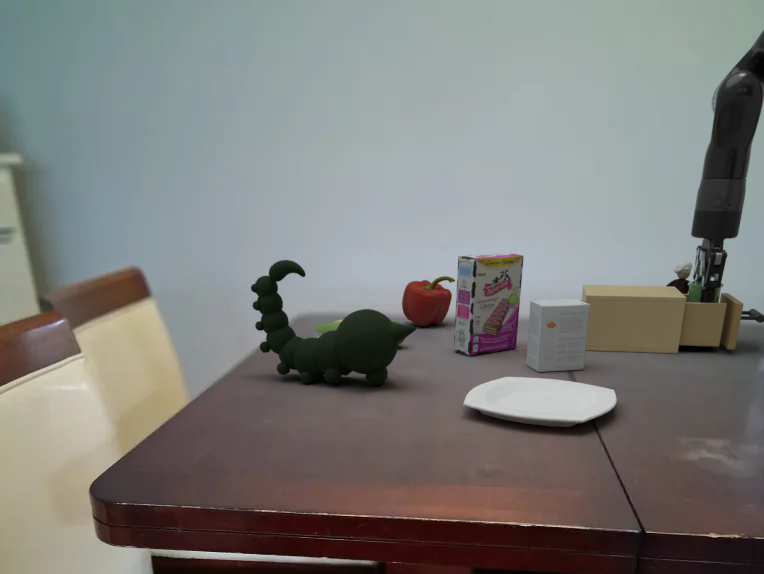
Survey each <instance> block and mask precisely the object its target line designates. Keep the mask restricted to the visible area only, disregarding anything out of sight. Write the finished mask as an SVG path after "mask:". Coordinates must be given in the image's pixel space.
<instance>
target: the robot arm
mask: <svg viewBox="0 0 764 574" xmlns="http://www.w3.org/2000/svg"><path fill="white" fill-rule="evenodd" d="M763 104H764V29H763V30H762V31H761V32H760V34H759V36H758V37H757V38H756V40H755V42H754V43H753V44H752V46H751V47H750V48H749V50H748V51H747V52H746V53H745V54H744V55H742V57H741V58H740V60H739V61H738V62H737V63H736V64H735V65H734V66H733V67H732V68H731V70H730V71H729V72H728V73H727V74H726V76H725V77H724V78H723V79H722V80H721V82H720V83H719V84H718V85H717V87H716V88H715V90H714V92H713V94H712V98H711V110H712V113H713V120H712V126H711V127H712V128H711V135H710V141H709V142H708V145H707V147H706V151H705V153H704V159H703V166H702V172H701V179H700V182H699V187H698V190H697V194H696V200H695V205H694V212H693V218H692V224H691V231H690V235H691V237H693V238H696V239H702V242H701V245H697V246H696V253H695V263H694V270H693V275H692V278H693V279H692V280H693V281H702V285H701V288H702V290H701V296H700V302H699V303H714V298H715V292H716V291H717V289H718V288H720V286H721V283H722V282H723V281H722V280H723V275H724V271H725V267H726V264H727V263H726V262H727V258H728V251H726V249H724V244H725V242H724V241H725V240H727V239H728V240H729V239H730V240H731V239H736V238H737V237H738V236H739V231H740V225H741V221H742V215H743V211H744V210H743V209H744V206H745V205H744V204H745V198H746V191H747V190H746V189H747V178H748V173H749V166H750V160H751V154H752V146H753V142H754V138H755V135H756V132H757V128H758V125H759V121H760V118H761V114H762V110H763V106H764V105H763ZM712 278H713V280H712ZM715 290H716V291H715Z"/></svg>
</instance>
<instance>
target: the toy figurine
mask: <svg viewBox="0 0 764 574" xmlns="http://www.w3.org/2000/svg"><path fill="white" fill-rule="evenodd" d="M290 274H297V275H299V276H300V277H301V278H305V277H306V270H305V269H304V267H302V266H301V265H300V264H299V263H297V262H295V261H294V260H289V259H282V260H278V261H276V262H274V263H273V264H272V265H271V266H270V267H269V270H268V275H262V276H259V277H258V278H257V279H256V281H255V282H254V283H253V284H251V286H250V290H251V292H252V293H254V294H256V295H257V298H256V299H257V300H255V301H253V302H252V305H251V306H252V308H253V310H254V311H257V312H259V313H260V314H261V317H260V321H259V320H258V321H256V323H255V324H254V325H255V326H254V327H255V329H256V330H257V331H259V332H261V331H264V333H265V334H266V336H265V341H261V343H260V344H259V350H260V351H261V352H262V353H263V354H266V353H267V354H268V353H270V351H272V352H273V353H274V354H277V355H278V358H279V360H280V362H279V363H278V364H277V365H276V371H277V373H278V374H279V375H280V376H281V375H282V376H287V375H288V374H289V373H291V370H293V371H296V372H298V374H299V378H300V381H301V382H302V383H304V384H305V383H308V384H311V383H312V382H313V381H314V379H318V378H321V377H324V379H325V380H326V382H328V384H329V383H330V384H336V383H338V382H340V380H341V379H342V376H345V377H347V376H348V375H350V374H351V373H353V372H354V373H356V374H359V375H360V374H361V375H365V380H366V382H367V383H368V384H369V385H371V386H374V387H375V386H376V387H377V385H378V386H380V385H383V384H384V383H385V382H386V380H387V379H388V375H389V370H388V368H387V367H389V366H390V365H391V364H392V362H393V361H394V360H395V357H396V355H397V353H398V350H399V345H400V344H399V342H400V341H402V340H403V339H404V338H405V339H407V338H406V337H409V336H410V335H412V334H413V333H414V332H415V331H416V330H417V326H416V325H411V324H402V323H400V324H394V323H393V322H394V321H393V320H392V319H390V317H388V316H387V315H386V314H384V313H382V312H380V311H379V310H376V309H372V308H364V309H363V308H362V309H358V310H355V311H352V312H351V313H349V314H348V315H346V316H345V317H344V318H343V319H341V320H342V321H341V323H340V324H339V326H338V328H337V330H335V331H328V332H325V333H324V334H321V335H319V336H320V337H319V338H316V337H306V338H303V337H300V336H298V335H297V334H296V332H295V330H294V329H293V328H292V326H290V325H289V324H290V321H289V320H290V319H289V316H288V314H287V313H286V312H285V311H284V310H283V309H284V308H283V307H284V300H283V298H282V296H281V295H280V294H279V292H278V291H279V285H278V282H281V281H283V280H284V279H285V278H286V277H287V276H288V275H290ZM392 321H393V322H392ZM398 344H399V345H398Z"/></svg>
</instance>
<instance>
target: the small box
mask: <svg viewBox="0 0 764 574" xmlns="http://www.w3.org/2000/svg"><path fill="white" fill-rule="evenodd" d="M589 308H590V304H588V303H585V302H583V301H582V300H581V299H577V298H563V299H562V298H561V299H541V300H530V302H529V316H528V330H527V331H528V332H527V346H526V347H527V348H526V362H525V364H526V366H528V367H530V368H531V369H532V370H534V371H535V372H536V373H547V372H548V373H549V372H566V371H580V370H581V371H582V370H584V368H585V361H586V360H585V358H586V350H585V349H586V339H587V328H588V319H589Z"/></svg>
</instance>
